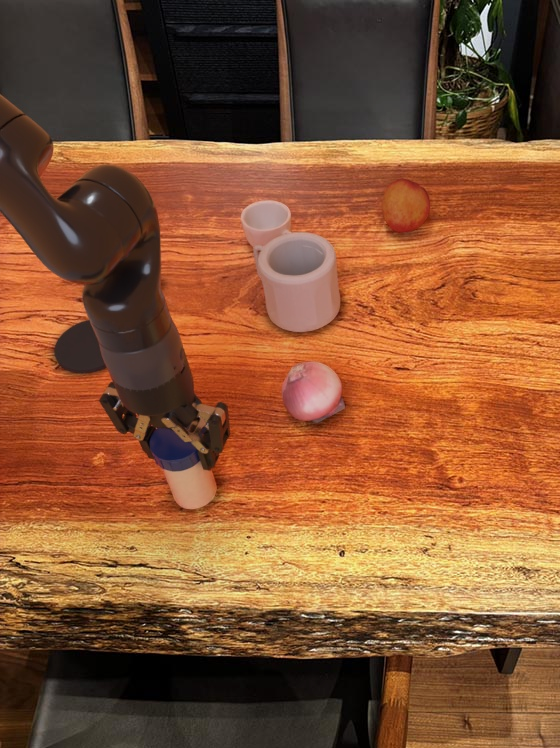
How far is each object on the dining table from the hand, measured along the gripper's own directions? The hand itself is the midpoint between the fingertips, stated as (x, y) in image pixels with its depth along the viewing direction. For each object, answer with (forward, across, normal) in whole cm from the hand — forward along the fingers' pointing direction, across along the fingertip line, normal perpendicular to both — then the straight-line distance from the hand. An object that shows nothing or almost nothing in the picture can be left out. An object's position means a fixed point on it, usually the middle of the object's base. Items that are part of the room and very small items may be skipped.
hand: (183, 458), depth 91 cm
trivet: (+7, -24, +19) cm, 31 cm away
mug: (+7, +2, +34) cm, 34 cm away
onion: (+7, +10, +16) cm, 20 cm away
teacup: (+7, -6, +46) cm, 47 cm away
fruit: (+7, +13, +55) cm, 57 cm away
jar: (+7, 0, 0) cm, 7 cm away
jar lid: (-3, 0, 0) cm, 3 cm away
